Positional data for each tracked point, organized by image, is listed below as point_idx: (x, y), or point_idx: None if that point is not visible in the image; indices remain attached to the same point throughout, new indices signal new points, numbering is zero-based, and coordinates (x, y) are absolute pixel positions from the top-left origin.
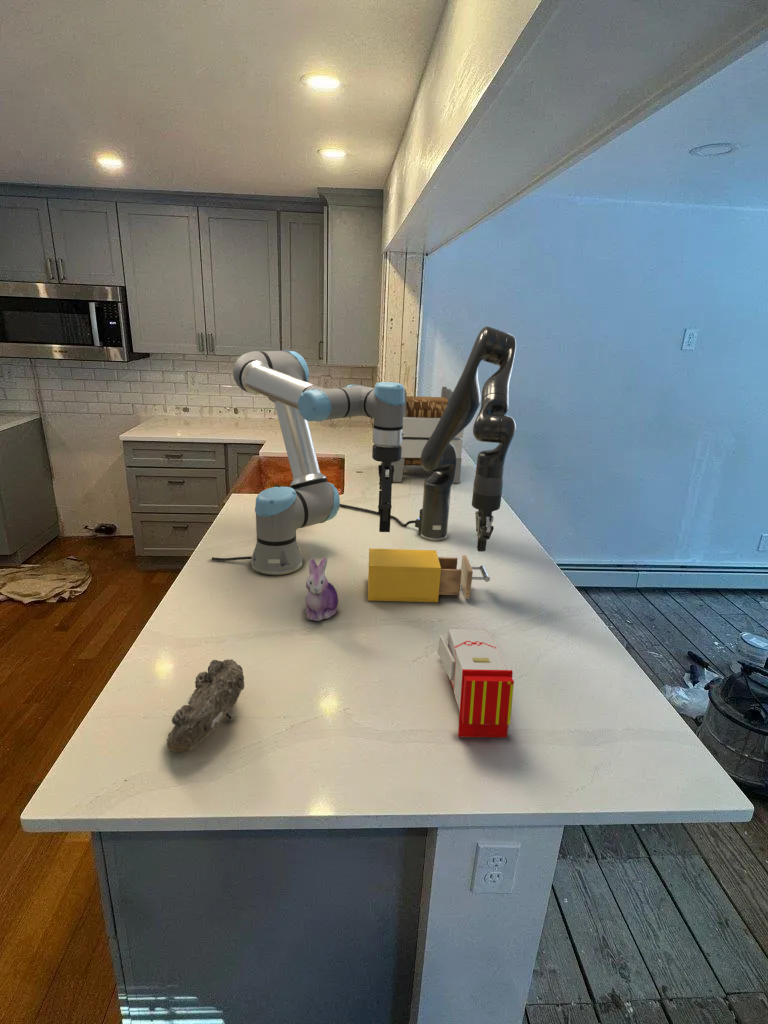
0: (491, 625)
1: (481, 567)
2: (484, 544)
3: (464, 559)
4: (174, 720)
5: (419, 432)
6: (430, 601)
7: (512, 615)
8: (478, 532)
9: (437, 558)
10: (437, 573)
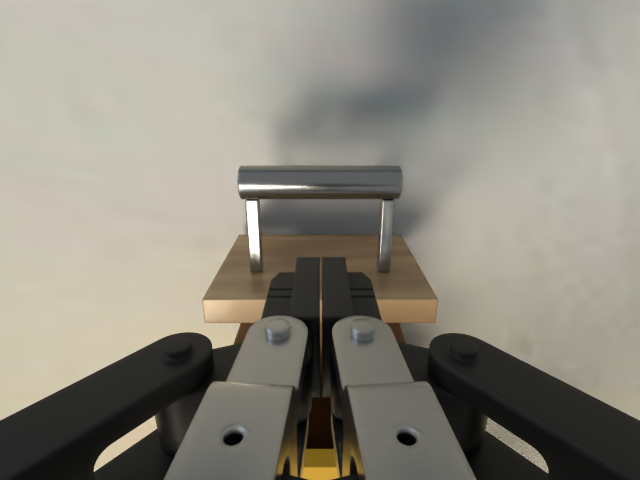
0: (591, 174)
1: (266, 195)
2: (378, 312)
3: None
4: None
5: None
6: None
7: (527, 57)
8: (304, 451)
9: (317, 471)
10: None
